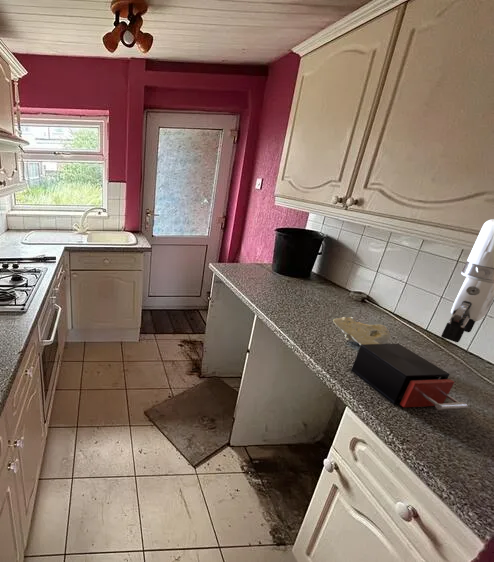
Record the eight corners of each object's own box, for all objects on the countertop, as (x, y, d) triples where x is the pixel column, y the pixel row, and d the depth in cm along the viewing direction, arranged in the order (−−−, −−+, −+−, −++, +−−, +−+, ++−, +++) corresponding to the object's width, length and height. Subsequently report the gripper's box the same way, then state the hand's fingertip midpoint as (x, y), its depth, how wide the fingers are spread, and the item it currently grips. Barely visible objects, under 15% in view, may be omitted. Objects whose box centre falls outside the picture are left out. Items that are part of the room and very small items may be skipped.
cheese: (394, 359, 107) (377, 319, 114) (401, 353, 101) (383, 311, 109) (342, 362, 112) (329, 324, 120) (346, 357, 107) (332, 317, 114)
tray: (466, 422, 77) (481, 398, 75) (425, 425, 76) (438, 400, 74) (395, 373, 95) (405, 351, 92) (361, 374, 94) (370, 352, 91)
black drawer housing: (435, 402, 85) (450, 374, 82) (393, 404, 84) (406, 375, 80) (387, 369, 99) (398, 343, 95) (351, 370, 97) (360, 344, 94)
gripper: (501, 283, 67) (466, 351, 73) (517, 271, 75) (485, 332, 81) (452, 273, 72) (424, 336, 79) (473, 262, 81) (446, 320, 87)
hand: (455, 334), depth 80 cm, fingers open, 9 cm apart
